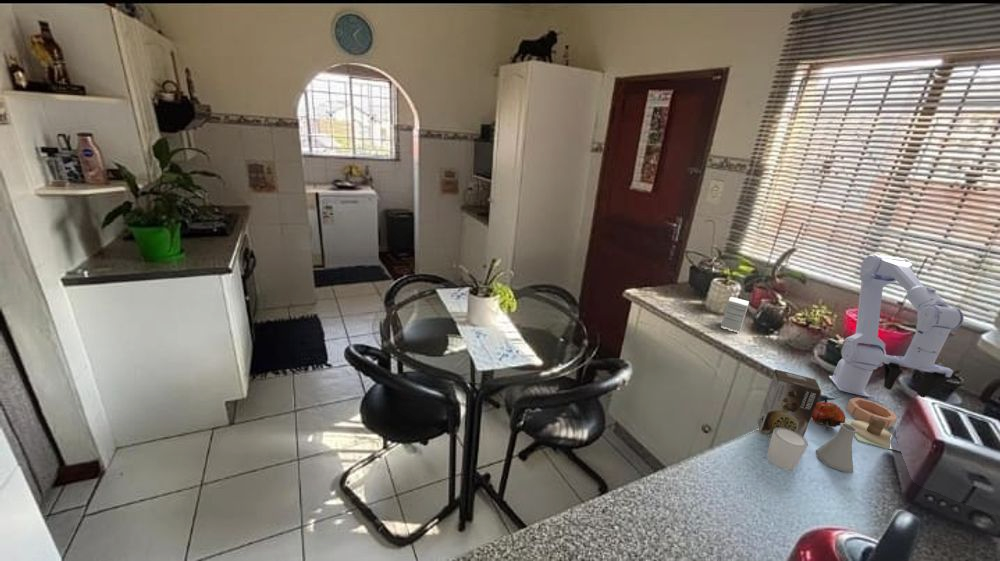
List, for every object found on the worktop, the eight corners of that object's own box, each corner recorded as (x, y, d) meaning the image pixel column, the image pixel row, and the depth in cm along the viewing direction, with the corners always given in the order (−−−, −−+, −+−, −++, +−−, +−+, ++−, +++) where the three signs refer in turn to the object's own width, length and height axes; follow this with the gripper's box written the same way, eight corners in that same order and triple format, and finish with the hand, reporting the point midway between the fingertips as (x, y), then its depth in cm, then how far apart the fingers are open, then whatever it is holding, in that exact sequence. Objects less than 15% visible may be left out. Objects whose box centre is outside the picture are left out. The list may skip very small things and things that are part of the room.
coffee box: (795, 431, 109) (816, 379, 103) (800, 446, 103) (823, 391, 98) (756, 419, 112) (774, 368, 107) (759, 433, 106) (779, 379, 101)
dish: (841, 402, 125) (845, 394, 124) (880, 412, 122) (884, 404, 121) (856, 421, 116) (860, 412, 115) (899, 432, 113) (903, 423, 112)
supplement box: (722, 323, 179) (730, 296, 175) (741, 328, 175) (750, 301, 171) (719, 328, 173) (727, 300, 169) (739, 333, 169) (748, 305, 165)
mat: (841, 418, 117) (841, 417, 117) (885, 429, 114) (886, 428, 114) (857, 441, 108) (858, 439, 107) (906, 454, 105) (907, 452, 104)
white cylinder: (792, 456, 99) (802, 432, 97) (802, 476, 93) (813, 451, 91) (760, 447, 101) (769, 423, 99) (768, 466, 95) (778, 441, 92)
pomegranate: (840, 443, 110) (842, 409, 115) (847, 432, 105) (849, 397, 109) (806, 433, 114) (810, 401, 119) (811, 422, 109) (814, 389, 114)
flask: (859, 476, 95) (876, 440, 92) (825, 468, 96) (840, 433, 93) (841, 454, 102) (856, 421, 99) (809, 448, 103) (823, 414, 100)
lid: (844, 418, 116) (850, 405, 115) (884, 428, 114) (891, 415, 112) (859, 439, 108) (866, 425, 106) (903, 450, 105) (910, 436, 104)
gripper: (900, 347, 108) (879, 391, 113) (969, 361, 104) (945, 406, 109) (886, 337, 115) (867, 379, 119) (951, 350, 111) (929, 393, 115)
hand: (903, 391), depth 114 cm, fingers open, 7 cm apart
